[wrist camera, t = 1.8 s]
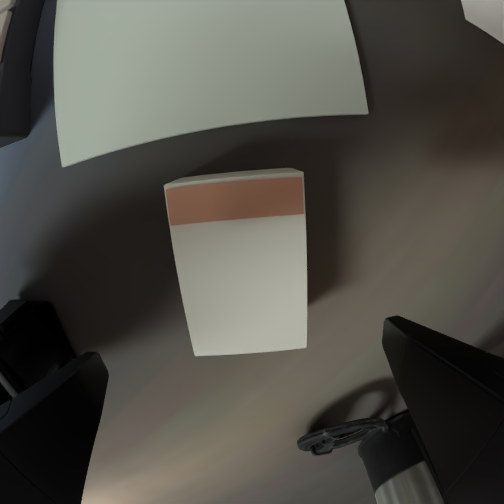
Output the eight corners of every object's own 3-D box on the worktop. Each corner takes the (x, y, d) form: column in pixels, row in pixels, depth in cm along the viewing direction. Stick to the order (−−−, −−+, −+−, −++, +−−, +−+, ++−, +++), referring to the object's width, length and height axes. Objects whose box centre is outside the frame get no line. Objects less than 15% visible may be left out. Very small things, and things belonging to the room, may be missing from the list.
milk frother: (420, 444, 26) (459, 532, 12) (296, 476, 26) (311, 582, 12) (454, 363, 21) (532, 473, 7) (294, 404, 22) (321, 572, 8)
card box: (295, 310, 19) (307, 349, 15) (203, 317, 19) (194, 357, 15) (289, 167, 16) (304, 172, 12) (182, 177, 16) (162, 185, 12)
